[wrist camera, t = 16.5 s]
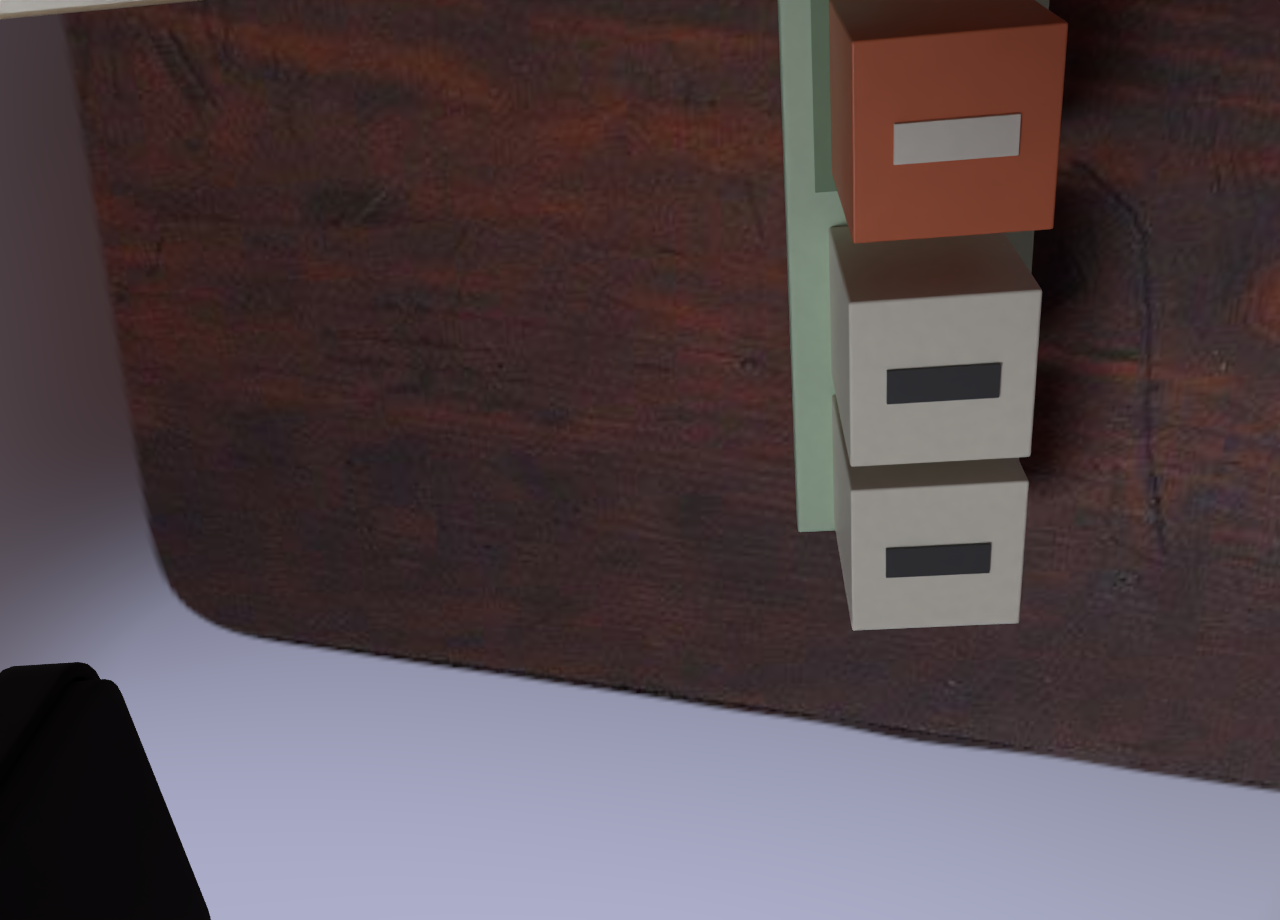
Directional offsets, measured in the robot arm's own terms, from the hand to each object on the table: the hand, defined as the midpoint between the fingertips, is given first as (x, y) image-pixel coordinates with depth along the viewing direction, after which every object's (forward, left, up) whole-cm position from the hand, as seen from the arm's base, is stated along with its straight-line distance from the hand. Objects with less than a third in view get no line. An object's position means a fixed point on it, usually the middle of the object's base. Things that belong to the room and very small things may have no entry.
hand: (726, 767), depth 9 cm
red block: (+5, 0, -22) cm, 22 cm away
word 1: (+5, -5, -23) cm, 24 cm away
